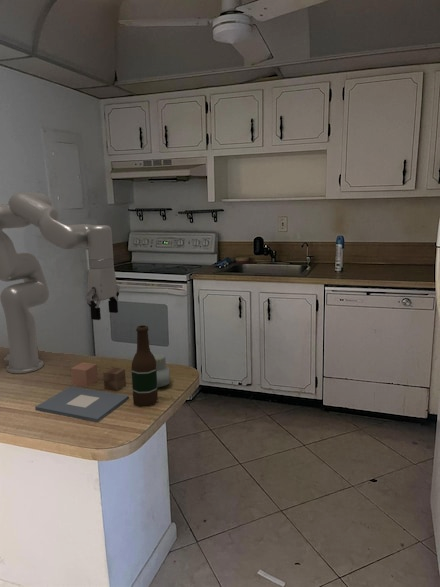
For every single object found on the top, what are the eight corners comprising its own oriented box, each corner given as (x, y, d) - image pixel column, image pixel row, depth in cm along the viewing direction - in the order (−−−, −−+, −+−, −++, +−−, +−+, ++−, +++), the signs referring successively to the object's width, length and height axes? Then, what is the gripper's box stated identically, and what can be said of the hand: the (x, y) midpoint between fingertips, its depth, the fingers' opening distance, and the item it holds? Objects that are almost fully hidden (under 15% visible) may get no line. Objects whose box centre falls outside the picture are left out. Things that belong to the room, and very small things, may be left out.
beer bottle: (137, 409, 131) (133, 331, 126) (129, 399, 137) (125, 325, 132) (162, 403, 134) (159, 327, 129) (153, 394, 141) (150, 321, 136)
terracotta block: (72, 384, 149) (70, 368, 148) (83, 378, 154) (82, 362, 153) (87, 387, 147) (85, 370, 146) (98, 380, 152) (96, 364, 151)
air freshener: (169, 390, 144) (168, 361, 142) (143, 391, 143) (142, 362, 141) (169, 377, 154) (169, 350, 152) (146, 378, 154) (144, 351, 152)
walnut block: (104, 389, 145) (103, 372, 144) (113, 383, 150) (112, 367, 148) (117, 391, 143) (116, 374, 142) (125, 385, 148) (125, 368, 147)
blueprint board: (35, 409, 131) (35, 406, 131) (71, 388, 145) (71, 385, 145) (97, 422, 123) (97, 418, 123) (128, 398, 138) (128, 395, 138)
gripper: (107, 260, 151) (110, 309, 154) (74, 267, 135) (78, 321, 138) (126, 261, 148) (129, 310, 151) (95, 268, 132) (99, 323, 136)
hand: (105, 315), depth 145 cm, fingers open, 9 cm apart
